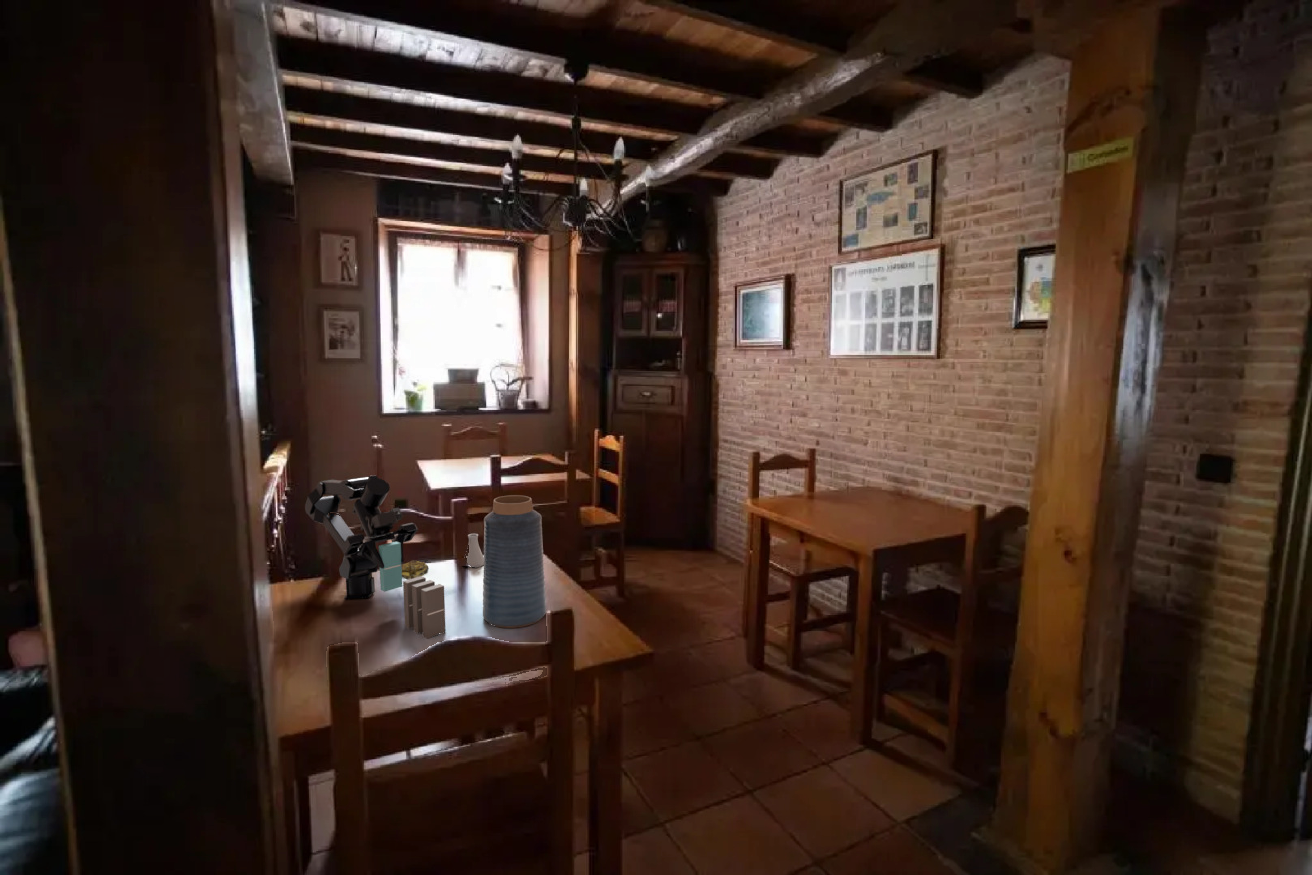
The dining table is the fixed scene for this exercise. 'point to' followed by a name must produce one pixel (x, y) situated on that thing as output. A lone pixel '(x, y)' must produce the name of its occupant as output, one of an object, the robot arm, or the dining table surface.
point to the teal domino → (390, 566)
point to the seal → (414, 569)
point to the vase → (513, 564)
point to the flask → (474, 552)
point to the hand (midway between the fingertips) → (393, 565)
